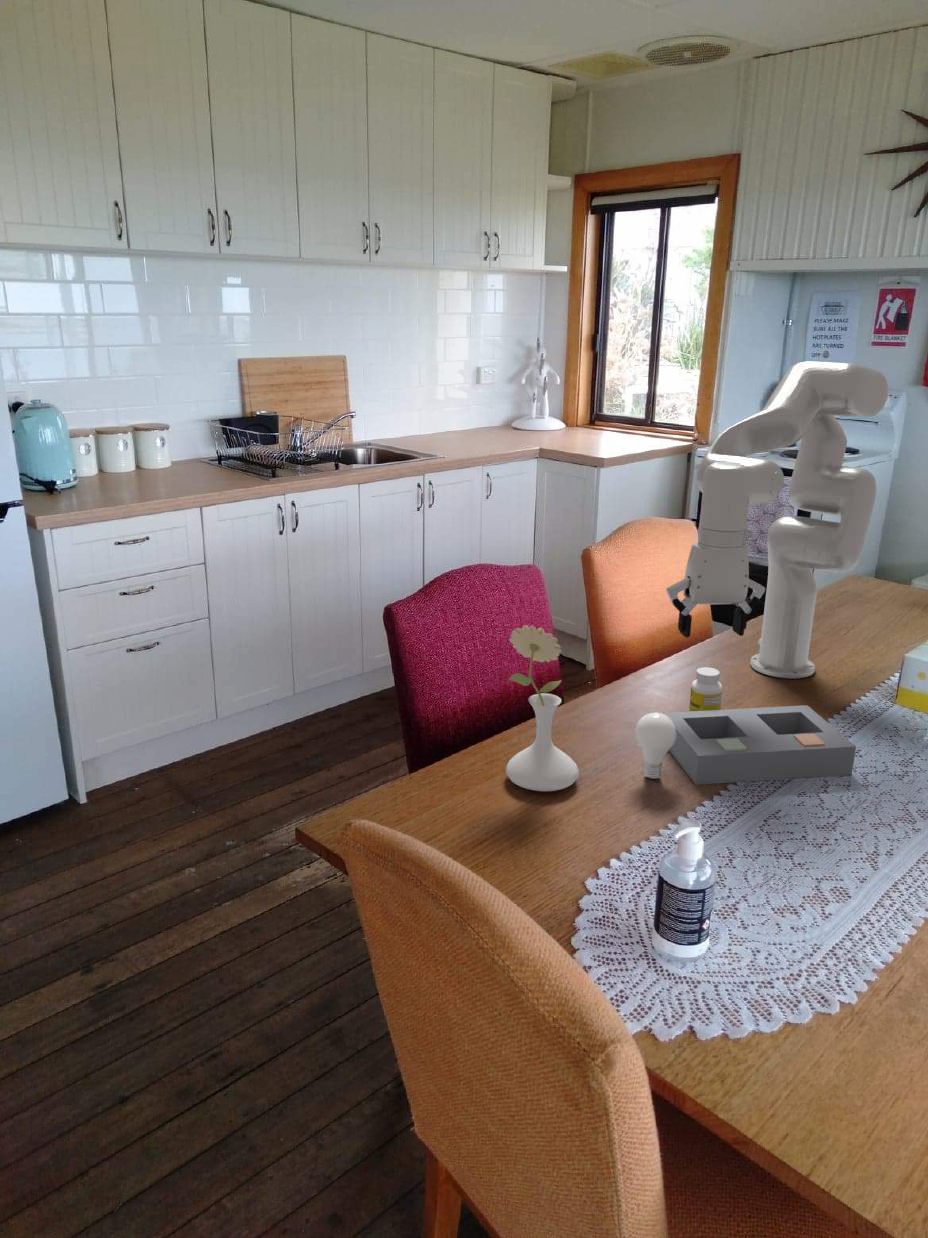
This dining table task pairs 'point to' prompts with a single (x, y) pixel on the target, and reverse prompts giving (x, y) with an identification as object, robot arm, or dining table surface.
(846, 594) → the dining table surface
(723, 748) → the socket board
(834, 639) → the dining table surface
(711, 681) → the supplement bottle
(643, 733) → the lightbulb
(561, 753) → the flower in vase
